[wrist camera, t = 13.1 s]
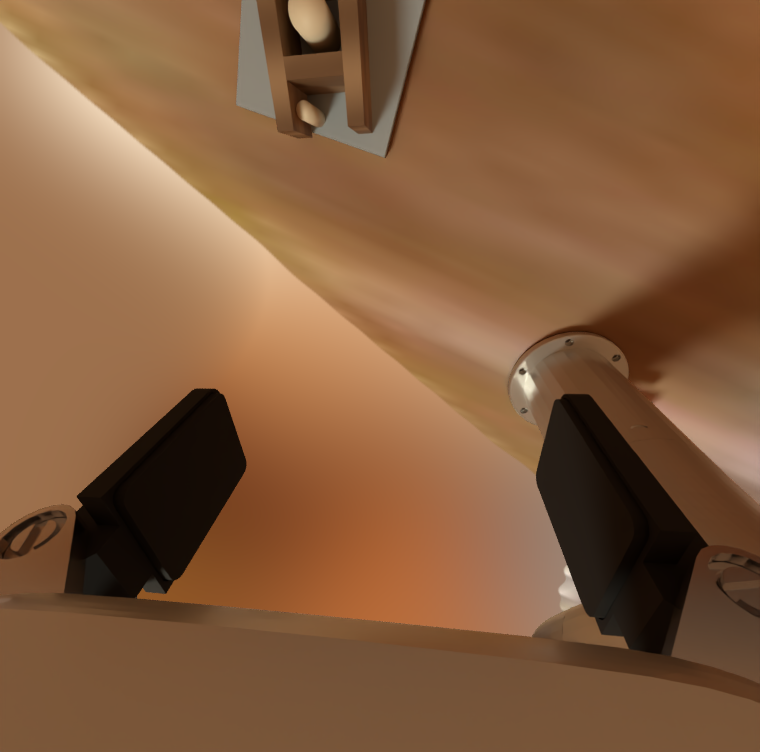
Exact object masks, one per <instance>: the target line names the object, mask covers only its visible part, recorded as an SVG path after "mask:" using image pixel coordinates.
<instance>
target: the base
mask: <svg viewBox="0 0 760 752" xmlns="http://www.w3.org/2000/svg"><path fill="white" fill-rule="evenodd" d="M425 2H426V0H366V6H367V27H368V47H369V68H370V89H371V109H372V130H373V133H368V134H358V133H356V132H355V131H353V130H352V129H351V128H349V127H348V123H347V110H346V97H345V92H341V93H330V94H318V95H307V98H308V101H306V100H301V101H300V102H299V103H298V104H297V107H296V112H297V115H298V117H299V118H300V119H301V120H303V121H305V122H307V123H309V124H311V131H312V132H313V133H316V134H319V135H322V136H325V137H328V138H330V139H333V140H336V141H339V142H342V143H345V144H347V145H350V146H353V147H356V148H359V149H362V150H364V151H367V152H370V153H373V154H376V155H379V156H381V157H384V158H386V154H387V150H388V146H389V142H390V139H391V135H392V131H393V127H394V123H395V119H396V115H397V111H398V107H399V103H400V100H401V96H402V92H403V88H404V84H405V80H406V76H407V72H408V68H409V65H410V61H411V57H412V53H413V49H414V45H415V41H416V37H417V33H418V29H419V26H420V22H421V18H422V14H423V10H424V6H425ZM288 12H289V17H290V20H291V22H292V24H293V26H294V28H295V29H296V30H297V31H298V32H299V34H300V41H301V49H302V55H306V54H316V53H326V52H336V51H342V46H341V33H340V20H339V8H338V0H332V1H325V0H289V2H288ZM236 105H237V106H240V107H243V108H245V109H248V110H251V111H254V112H257V113H260V114H262V115H265V116H268V117H271V118H274V119H276V117H275V111H274V105H273V99H272V93H271V87H270V81H269V75H268V69H267V63H266V56H265V50H264V44H263V38H262V32H261V26H260V20H259V14H258V8H257V2H256V0H242V7H241V25H240V44H239V62H238V81H237V99H236Z"/></svg>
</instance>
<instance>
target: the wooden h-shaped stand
mask: <svg viewBox="0 0 760 752" xmlns="http://www.w3.org/2000/svg"><path fill="white" fill-rule="evenodd" d="M325 1H332V0H325ZM256 2H257V8H258V14H259V20H260V26H261V32H262V38H263V44H264V50H265V56H266V63H267V69H268V75H269V81H270V87H271V93H272V99H273V105H274V111H275V117H276V124H277V130H278V132H280V133H283V134H287V135H290V136H293V137H296V138H312V131H311V124H309V123H307V122H305V121H303V120H301V119H300V118H299V117H298V115H297V112H296V107H297V104H298V103H299V102H300V101H301V100H306V101H308V98H307V95H318V94H330V93H341V92H345V97H346V110H347V123H348V127H349V128H351V129H352V130H353V131H355V132H356V133H358V134H368V133H373V130H372V109H371V89H370V68H369V47H368V27H367V6H366V0H338V8H339V20H340V33H341V46H342V51H336V52H326V53H316V54H306V55H302V49H301V41H300V34H299V32H298V31H297V30H296V29H295V28H294V26H293V24H292V22H291V20H290V17H289V12H288V2H289V0H256Z"/></svg>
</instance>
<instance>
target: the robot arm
mask: <svg viewBox="0 0 760 752" xmlns="http://www.w3.org/2000/svg"><path fill="white" fill-rule="evenodd" d="M566 340H567V341H566ZM628 377H629V367H628V362H627V360H626V357H625V355H624V354H623V353H622V351H621V350H620V349H619V348H618V347H617V346H616V345H615V344H614V343H613V342H611V341H610V340H608V339H606V338H605V337H603V336H600V335H597V334H594V333H589V332H567V333H562V334H557V335H555V336H552V337H549V338H546V339H544V340H543V341H541V342H539V343H537V344H535V345H534V346H533V347H531V348H530V349H529V350H527V351H526V352H525V353H524V354H523V355H522V356H521V357H520V359H519V360H518V361H517V363H516V364H515V366H514V367H513V369H512V372H511V374H510V377H509V382H508V394H509V397H510V400H511V403H512V405H513V407H514V409H515V410H516V412H517V413H518V414H519V415H520V416H521V417H522V418H524V419H525V420H526V421H528V422H530V423H532V424H534V425H537V426H538V428H539V430H540V432H541V434H542V436H543V438H544V443H543V448H542V452H541V456H540V460H539V464H538V468H537V472H536V481H537V486H538V489H539V491H540V494H541V496H542V499H543V502H544V504H545V507H546V510H547V512H548V515H549V517H550V520H551V523H552V526H553V528H554V531H555V533H556V536H557V539H558V542H559V544H560V547H561V549H562V552H563V555H564V557H565V560H566V563H567V565H568V568H569V571H570V573H571V576H572V579H573V581H574V584H575V587H576V589H577V592H578V595H579V597H580V600H581V602H582V604H580V605H577V606H575V607H572V608H570V609H568V610H566V611H563V612H561V613H559V614H557V615H555V616H553V617H551V618H549V619H548V620H546V621H545V622H543V623H542V624H541V625H540V626H539V627H538V628H537V629H536V631H535V633H534V634H533V635H532V637H527V636H518V635H508V634H498V633H489V632H478V631H469V630H459V629H449V628H439V627H429V626H420V625H410V624H401V623H390V622H381V621H370V620H360V619H350V618H339V617H328V616H319V615H308V614H298V613H288V612H277V611H267V610H256V609H246V608H235V607H224V606H213V605H202V604H191V603H180V602H169V601H158V600H157V601H156V600H147V599H137V595H138V594H139V592H140V591H141V589H142V588H144V590H145V591H146V592H152V593H162V594H166V593H167V591H168V589H169V588H170V586H171V585H172V583H173V581H174V580H176V579H178V578H179V577H181V575H182V574H183V573H184V571H185V569H186V568H187V566H188V564H189V563H190V561H191V559H192V558H193V556H194V554H195V553H196V551H197V549H198V548H199V546H200V545H201V543H202V541H203V540H204V538H205V536H206V535H207V533H208V531H209V530H210V528H211V526H212V525H213V523H214V522H215V520H216V518H217V516H218V515H219V513H220V512H221V510H222V508H223V507H224V505H225V504H226V502H227V500H228V499H229V497H230V495H231V494H232V492H233V490H234V489H235V487H236V485H237V484H238V482H239V481H240V479H241V477H242V476H243V474H244V472H245V469H246V459H245V456H244V453H243V450H242V447H241V444H240V441H239V438H238V435H237V432H236V429H235V426H234V423H233V420H232V417H231V414H230V411H229V408H228V406H227V402H226V399H225V397H224V395H223V394H220V393H219V391H218V390H216V389H194V390H192V391H191V392H190V393H189V394H188V395H187V396H186V397H185V398H183V399H182V400H181V401H180V402H179V403H178V404H177V405H176V406H175V407H174V408H173V409H171V410H170V411H169V412H168V413H167V414H166V415H165V416H164V417H163V418H162V419H160V420H159V421H158V422H157V423H156V424H155V425H154V426H153V427H152V428H151V429H150V430H148V431H147V432H146V433H145V434H144V435H143V436H142V437H141V438H140V439H139V440H138V441H137V442H135V443H134V444H133V445H132V446H131V447H130V448H129V449H128V450H127V451H126V452H124V453H123V454H122V455H121V456H120V457H119V458H118V459H117V460H116V461H115V462H114V463H112V464H111V465H110V466H109V467H108V468H107V469H106V470H105V471H104V472H103V473H102V474H100V475H99V476H98V477H97V478H96V479H95V480H94V481H93V482H92V483H90V484H89V485H88V486H87V487H86V488H85V489H84V490H83V491H82V492H81V493H79V494H78V495H77V498H78V499H79V501H80V502H81V503H82V505H83V506H82V507H81V508H80V509H79V510H78V511H77V512H76V511H75V509H74V508H72V507H71V506H69V505H63V504H61V505H53V506H49V507H46V508H42V509H39V510H37V511H35V512H33V513H30V514H28V515H26V516H24V517H23V518H21V519H19V520H18V521H16V522H14V523H13V524H11V525H10V526H9V527H7V528H6V529H5V530H4V531H2V532H1V533H0V752H760V504H759V503H757V502H756V501H755V500H754V499H753V498H752V497H751V496H750V495H749V494H747V493H746V492H745V491H744V490H743V489H742V488H741V487H740V486H739V485H738V484H736V483H735V482H734V481H733V480H732V479H731V478H730V477H729V476H728V475H726V474H725V473H724V472H723V471H722V470H721V469H720V468H719V467H718V466H717V465H716V464H715V463H714V462H713V461H712V460H711V459H710V458H709V457H708V456H707V455H706V454H705V453H704V452H702V451H701V450H700V449H699V448H698V447H697V446H696V445H695V444H694V443H693V442H692V441H691V440H690V439H689V438H688V437H687V436H686V435H685V434H684V433H683V432H682V431H681V430H680V429H678V428H677V427H676V426H675V425H674V424H673V423H672V422H671V421H670V420H669V419H668V418H667V417H666V416H665V415H664V414H663V413H662V412H661V411H660V410H659V409H658V408H657V407H656V406H655V405H654V404H653V403H652V402H651V401H650V400H649V399H647V398H646V397H645V396H644V395H643V394H642V393H641V392H640V391H639V390H638V389H637V388H636V387H635V386H634V385H633V384H632V383H631V382H630V381H629V380H628Z"/></svg>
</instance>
